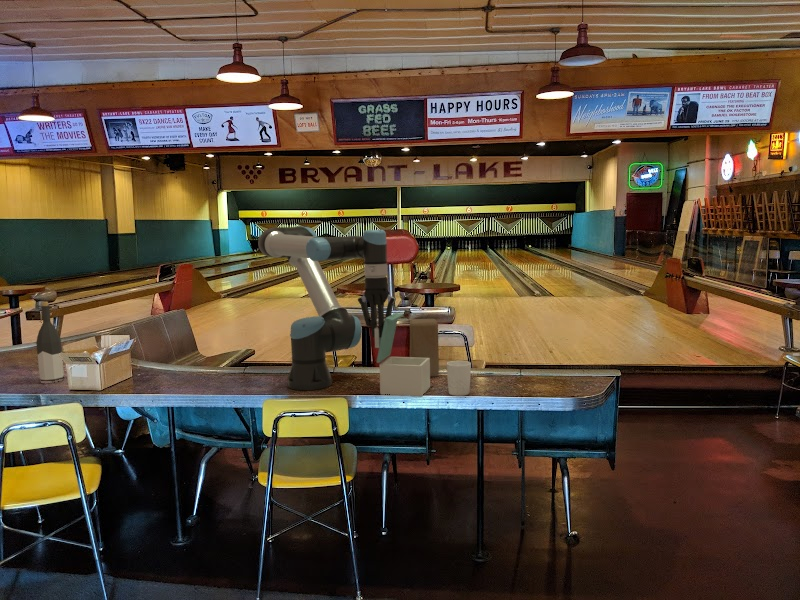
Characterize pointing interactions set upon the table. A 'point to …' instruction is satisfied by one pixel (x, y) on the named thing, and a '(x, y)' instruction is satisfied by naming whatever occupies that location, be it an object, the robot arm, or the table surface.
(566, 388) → the table surface
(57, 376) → the wine bottle
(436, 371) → the block
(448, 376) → the white cup
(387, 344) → the lid
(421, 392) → the box
